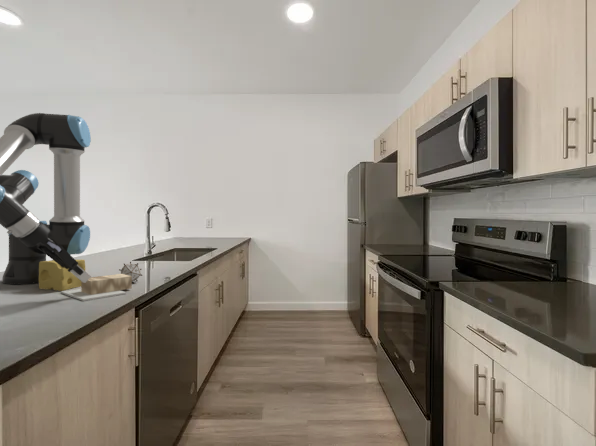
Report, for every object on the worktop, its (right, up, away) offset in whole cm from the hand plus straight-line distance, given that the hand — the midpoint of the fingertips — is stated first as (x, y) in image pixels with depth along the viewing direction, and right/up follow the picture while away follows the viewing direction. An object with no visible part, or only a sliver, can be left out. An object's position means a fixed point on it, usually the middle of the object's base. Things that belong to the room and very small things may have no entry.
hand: (87, 279), depth 120 cm
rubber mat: (+1, -5, +3) cm, 6 cm away
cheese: (-15, -5, +11) cm, 19 cm away
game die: (+4, -5, +23) cm, 24 cm away
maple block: (-1, -2, +1) cm, 3 cm away
